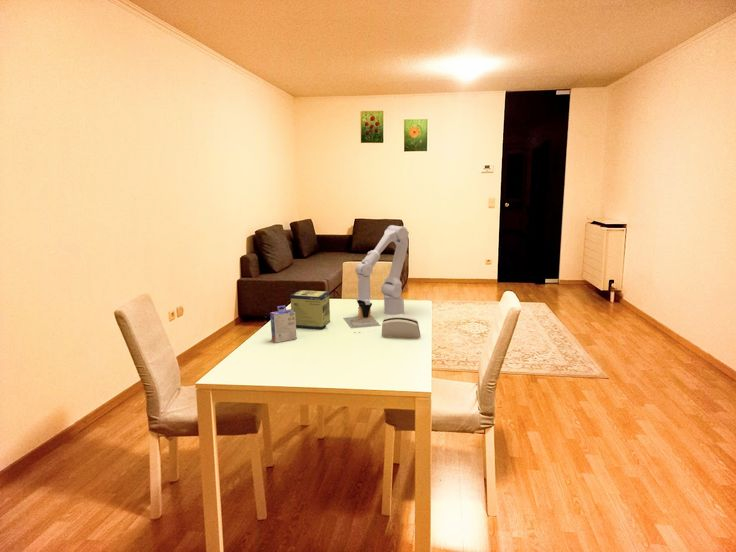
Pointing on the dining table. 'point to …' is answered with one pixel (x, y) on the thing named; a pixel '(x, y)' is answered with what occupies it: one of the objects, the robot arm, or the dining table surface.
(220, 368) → the dining table surface
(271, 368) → the dining table surface
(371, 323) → the rail
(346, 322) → the mount board
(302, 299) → the protein box
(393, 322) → the beige rounded block
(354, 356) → the dining table surface
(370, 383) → the dining table surface
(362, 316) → the module
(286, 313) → the ink cartridge box
